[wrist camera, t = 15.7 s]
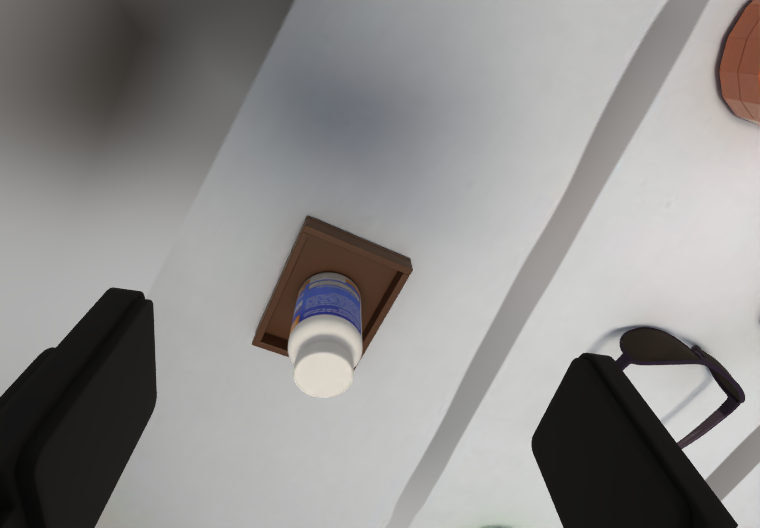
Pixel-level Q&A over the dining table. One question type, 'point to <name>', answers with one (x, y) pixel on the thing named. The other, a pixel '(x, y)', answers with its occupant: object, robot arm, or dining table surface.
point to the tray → (342, 256)
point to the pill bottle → (326, 335)
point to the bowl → (743, 65)
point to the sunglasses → (668, 350)
